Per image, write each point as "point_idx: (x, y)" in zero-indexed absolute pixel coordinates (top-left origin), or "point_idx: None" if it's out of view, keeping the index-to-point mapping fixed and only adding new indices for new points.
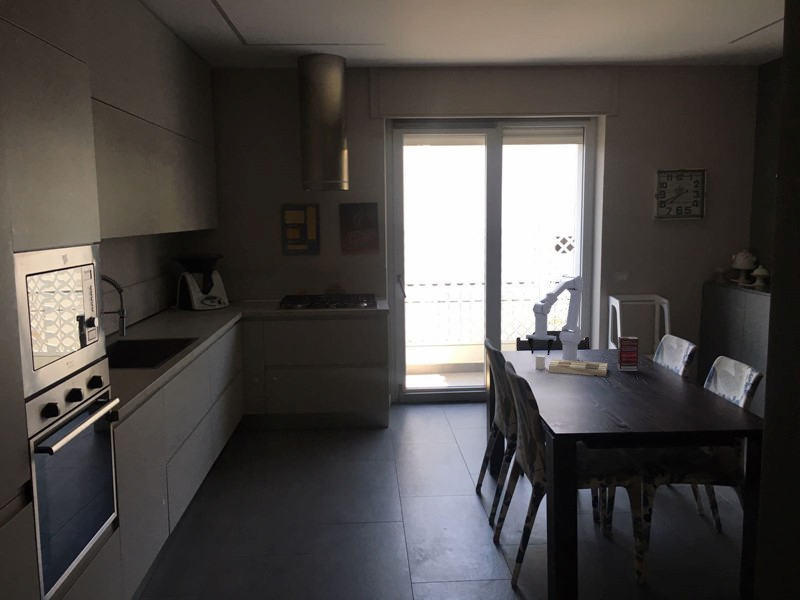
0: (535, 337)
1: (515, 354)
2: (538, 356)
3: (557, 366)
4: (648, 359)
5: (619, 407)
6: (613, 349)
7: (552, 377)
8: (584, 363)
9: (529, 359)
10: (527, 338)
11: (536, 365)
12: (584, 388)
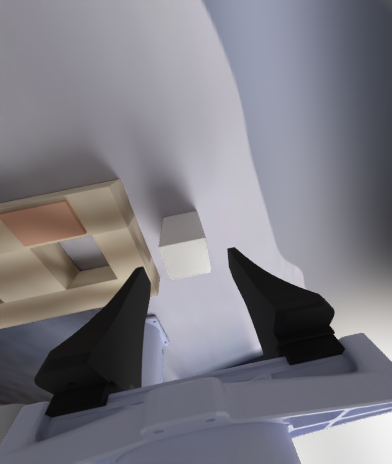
0: (265, 390)
1: None
2: (191, 244)
3: (60, 195)
4: (4, 402)
5: None
6: None
7: (17, 44)
8: (13, 301)
9: None
10: (349, 346)
11: (194, 216)
12: None
